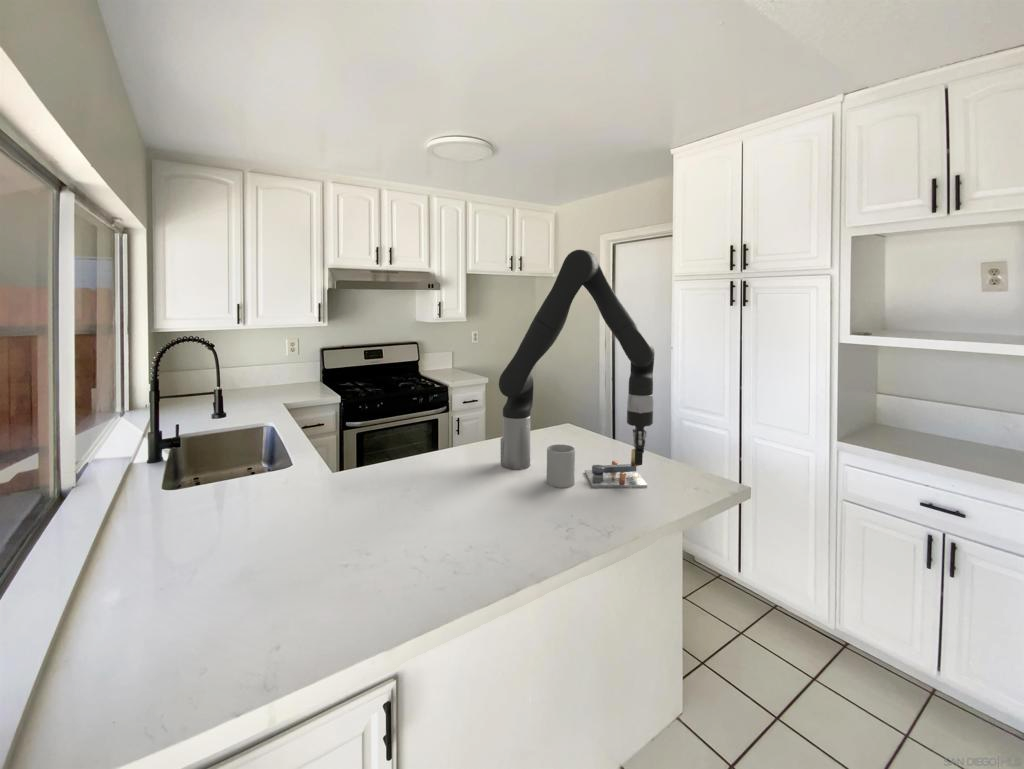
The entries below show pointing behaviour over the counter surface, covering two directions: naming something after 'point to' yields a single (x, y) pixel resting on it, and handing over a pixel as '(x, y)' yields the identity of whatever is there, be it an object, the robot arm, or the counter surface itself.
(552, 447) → the mug
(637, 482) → the crank base
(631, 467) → the crank lever
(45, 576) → the counter surface
